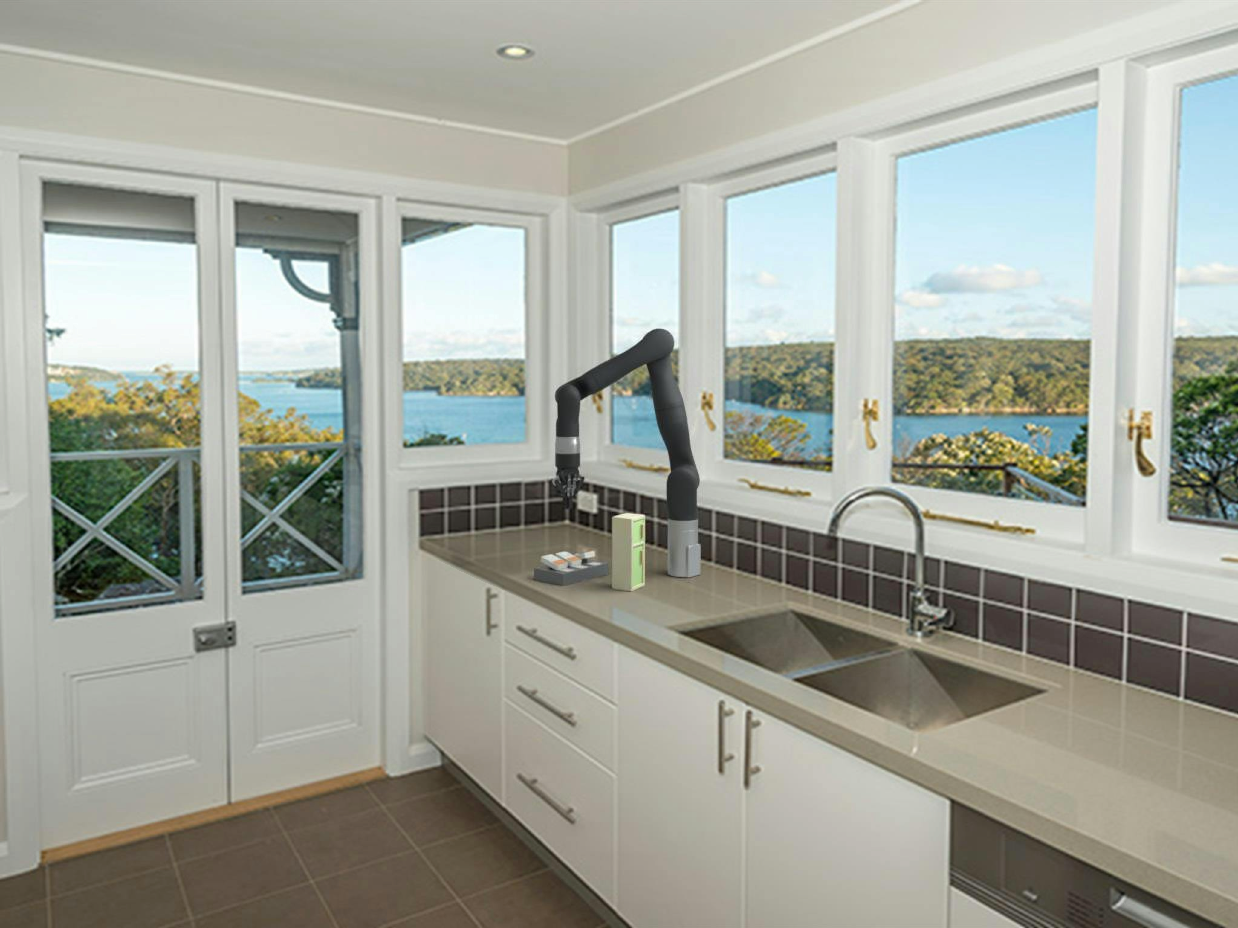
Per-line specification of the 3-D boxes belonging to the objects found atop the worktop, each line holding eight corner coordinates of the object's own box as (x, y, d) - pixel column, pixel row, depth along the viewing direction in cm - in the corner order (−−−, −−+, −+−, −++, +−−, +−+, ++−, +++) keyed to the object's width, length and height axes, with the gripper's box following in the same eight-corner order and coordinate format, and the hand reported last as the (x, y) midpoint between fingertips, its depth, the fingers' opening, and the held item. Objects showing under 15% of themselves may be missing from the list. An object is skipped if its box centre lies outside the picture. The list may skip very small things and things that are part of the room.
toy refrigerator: (633, 592, 265) (633, 518, 263) (611, 588, 269) (611, 516, 267) (647, 586, 272) (647, 514, 270) (625, 583, 276) (625, 512, 274)
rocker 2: (595, 556, 288) (594, 550, 288) (585, 558, 285) (584, 552, 285) (579, 558, 293) (578, 553, 293) (569, 561, 290) (568, 555, 290)
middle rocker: (580, 564, 284) (581, 559, 284) (570, 567, 281) (571, 561, 280) (564, 555, 288) (565, 550, 288) (554, 558, 285) (555, 552, 285)
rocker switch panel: (617, 572, 291) (617, 558, 290) (562, 585, 273) (562, 571, 272) (588, 566, 298) (588, 553, 298) (534, 579, 280) (534, 565, 280)
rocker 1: (567, 568, 280) (568, 562, 279) (556, 570, 276) (557, 564, 276) (550, 558, 284) (551, 553, 283) (540, 561, 281) (541, 555, 280)
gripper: (561, 453, 274) (561, 512, 275) (591, 450, 284) (591, 507, 285) (543, 452, 279) (543, 510, 280) (573, 449, 288) (574, 505, 290)
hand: (567, 508), depth 283 cm, fingers closed
